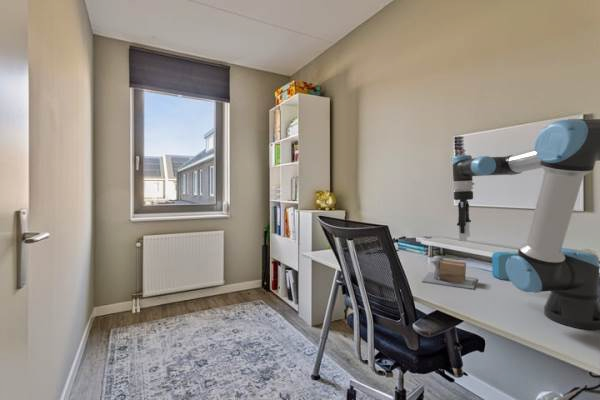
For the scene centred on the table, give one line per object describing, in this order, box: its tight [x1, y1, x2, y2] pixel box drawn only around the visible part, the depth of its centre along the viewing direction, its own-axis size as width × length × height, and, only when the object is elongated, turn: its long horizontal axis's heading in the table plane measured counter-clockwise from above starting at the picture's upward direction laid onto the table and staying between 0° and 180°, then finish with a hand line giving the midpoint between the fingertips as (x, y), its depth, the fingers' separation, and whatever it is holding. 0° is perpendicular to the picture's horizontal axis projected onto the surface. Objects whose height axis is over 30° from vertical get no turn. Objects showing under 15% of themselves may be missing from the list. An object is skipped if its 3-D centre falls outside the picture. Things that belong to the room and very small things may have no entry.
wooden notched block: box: [439, 258, 467, 283], centre depth 141 cm, size 7×10×8 cm
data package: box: [491, 251, 518, 281], centre depth 142 cm, size 12×4×12 cm, turn 91°
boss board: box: [421, 255, 478, 290], centre depth 141 cm, size 16×21×10 cm
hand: (464, 238), depth 133 cm, fingers open, 13 cm apart
